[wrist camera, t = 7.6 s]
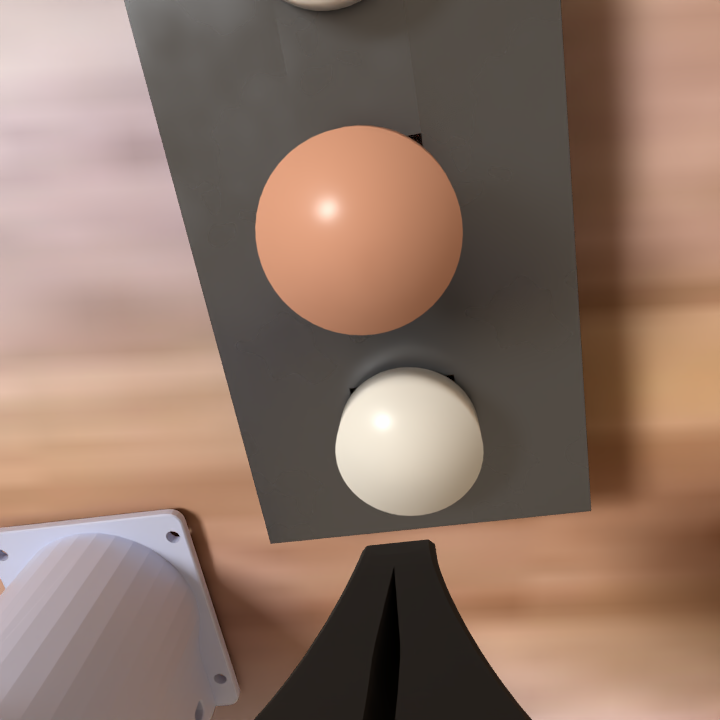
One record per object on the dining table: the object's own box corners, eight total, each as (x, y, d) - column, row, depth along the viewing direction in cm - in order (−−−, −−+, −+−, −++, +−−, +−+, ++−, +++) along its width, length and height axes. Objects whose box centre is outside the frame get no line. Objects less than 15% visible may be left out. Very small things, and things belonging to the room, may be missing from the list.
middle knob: (459, 270, 17) (474, 320, 13) (310, 292, 17) (279, 347, 13) (438, 107, 15) (449, 107, 11) (278, 138, 16) (233, 148, 12)
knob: (476, 434, 22) (491, 507, 18) (360, 448, 22) (349, 522, 18) (462, 323, 20) (474, 376, 16) (339, 341, 21) (322, 396, 17)
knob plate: (568, 460, 22) (591, 510, 19) (287, 491, 24) (270, 543, 21) (515, -273, 15) (538, -359, 12) (121, -170, 17) (62, -226, 14)
